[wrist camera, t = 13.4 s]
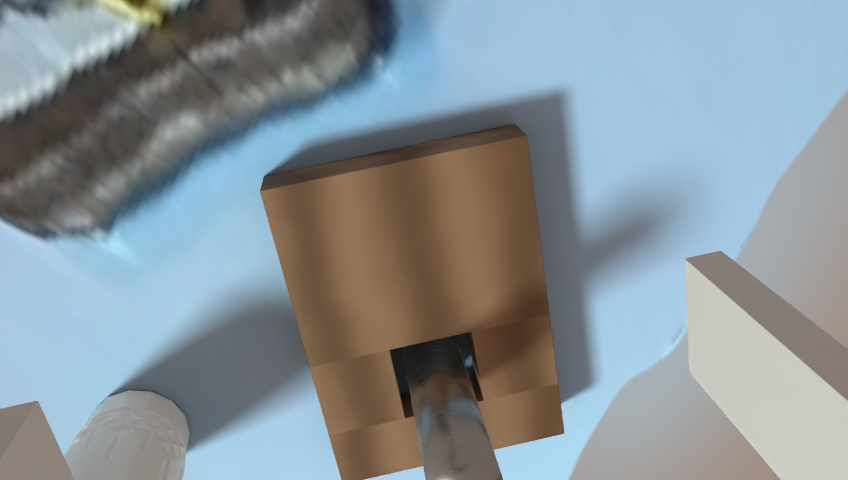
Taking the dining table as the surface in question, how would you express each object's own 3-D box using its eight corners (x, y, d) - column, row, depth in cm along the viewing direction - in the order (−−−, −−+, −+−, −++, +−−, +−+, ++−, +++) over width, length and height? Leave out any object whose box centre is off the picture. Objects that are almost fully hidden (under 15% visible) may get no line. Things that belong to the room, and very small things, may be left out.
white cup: (131, 360, 49) (86, 456, 40) (222, 426, 52) (199, 530, 42) (55, 433, 50) (-6, 542, 41) (148, 493, 53) (110, 609, 44)
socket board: (341, 456, 54) (342, 484, 51) (264, 176, 45) (259, 191, 42) (552, 408, 54) (564, 433, 52) (514, 124, 46) (526, 135, 43)
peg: (408, 382, 52) (435, 525, 39) (398, 334, 51) (422, 467, 38) (463, 370, 52) (508, 509, 39) (454, 322, 51) (497, 450, 38)
